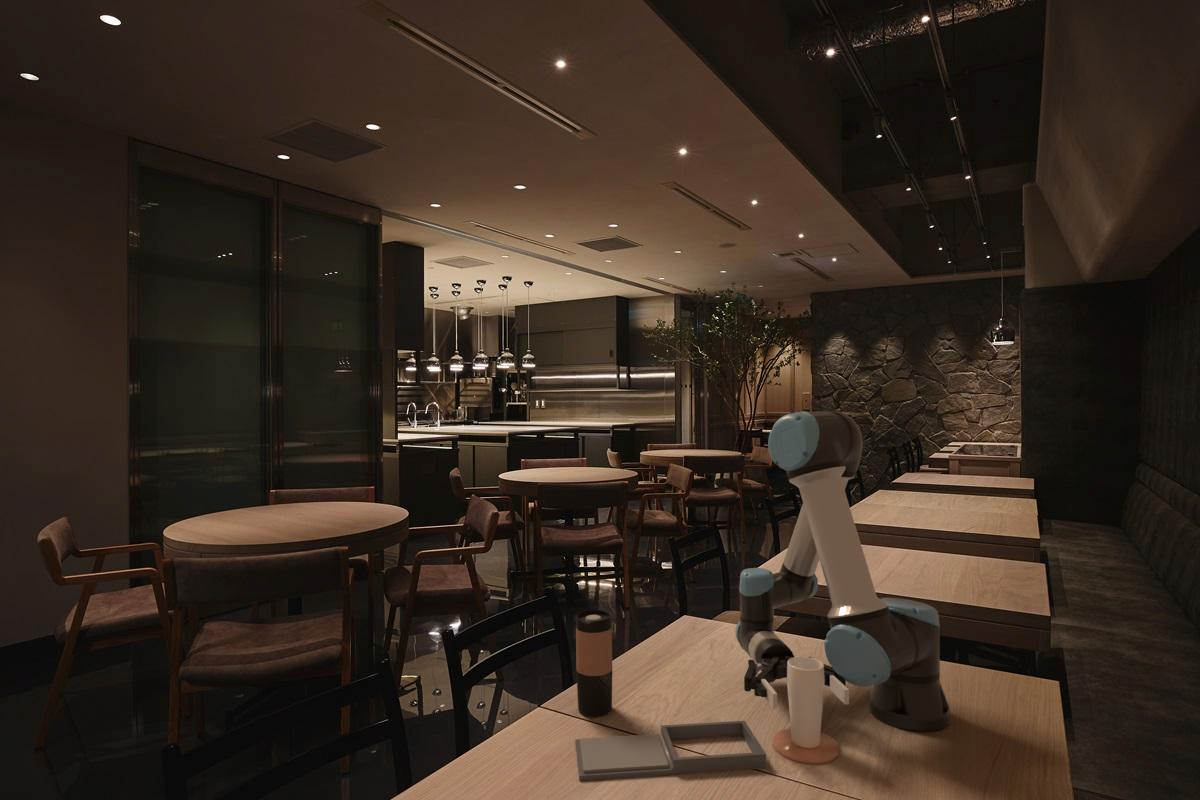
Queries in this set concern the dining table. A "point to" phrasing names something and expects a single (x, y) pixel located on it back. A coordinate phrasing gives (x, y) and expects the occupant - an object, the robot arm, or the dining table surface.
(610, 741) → the open case
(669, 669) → the dining table surface
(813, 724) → the drinking glass
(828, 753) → the coaster
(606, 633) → the travel mug
